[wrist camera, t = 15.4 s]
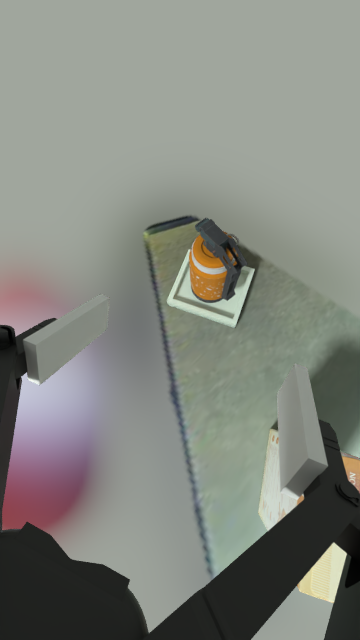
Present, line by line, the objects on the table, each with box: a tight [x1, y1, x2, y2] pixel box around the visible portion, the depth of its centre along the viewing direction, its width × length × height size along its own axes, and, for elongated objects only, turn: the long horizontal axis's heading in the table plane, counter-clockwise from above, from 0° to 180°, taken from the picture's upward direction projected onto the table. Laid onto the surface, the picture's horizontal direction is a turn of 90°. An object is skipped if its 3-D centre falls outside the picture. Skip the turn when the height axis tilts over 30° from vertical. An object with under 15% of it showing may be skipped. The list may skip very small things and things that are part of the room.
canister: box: [189, 218, 247, 303], centre depth 48 cm, size 9×11×20 cm
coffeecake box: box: [258, 429, 360, 603], centre depth 38 cm, size 15×7×20 cm, turn 166°
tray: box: [167, 250, 255, 328], centre depth 58 cm, size 16×14×2 cm
